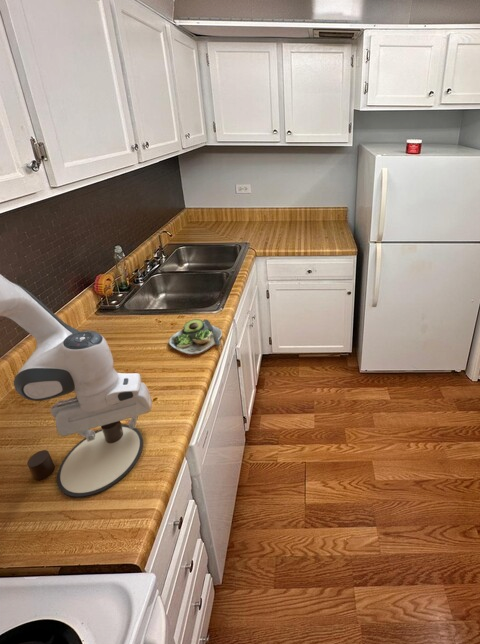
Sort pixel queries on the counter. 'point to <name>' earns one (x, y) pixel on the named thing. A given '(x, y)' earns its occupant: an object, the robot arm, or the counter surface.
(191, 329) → the avocado toast plate
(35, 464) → the eye puck
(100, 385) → the robot arm
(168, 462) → the counter surface
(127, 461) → the board
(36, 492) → the counter surface
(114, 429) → the eye puck
